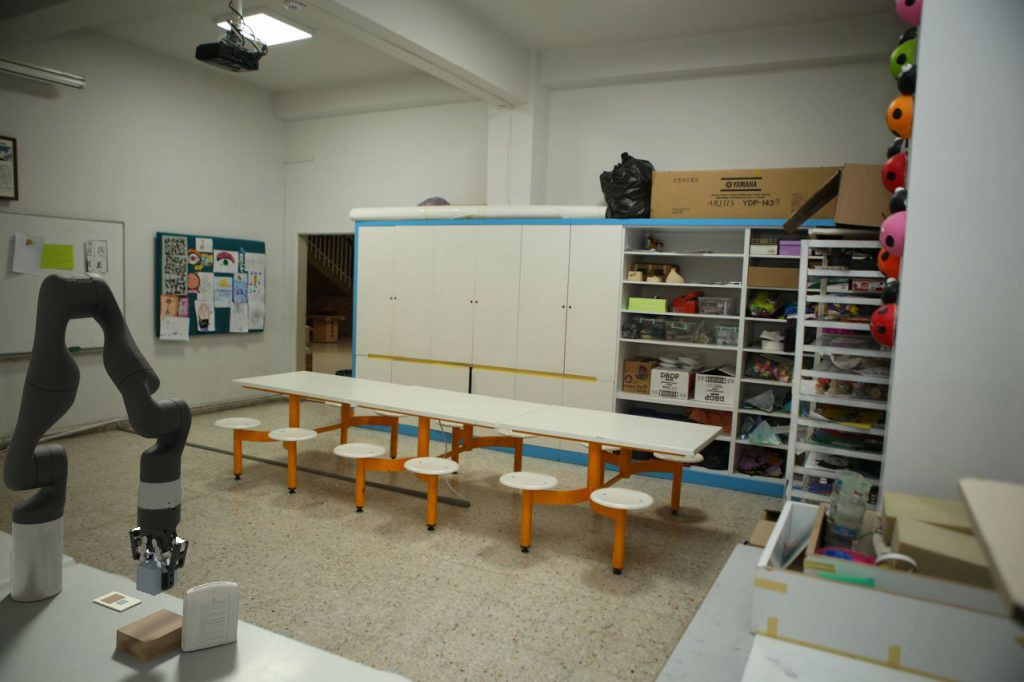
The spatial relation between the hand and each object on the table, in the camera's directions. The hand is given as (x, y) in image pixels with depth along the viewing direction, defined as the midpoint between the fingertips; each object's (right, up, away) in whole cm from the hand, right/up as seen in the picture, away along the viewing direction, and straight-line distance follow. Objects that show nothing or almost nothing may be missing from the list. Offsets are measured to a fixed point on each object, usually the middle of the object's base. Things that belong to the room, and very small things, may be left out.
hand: (157, 585), depth 126 cm
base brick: (-1, -12, +1) cm, 12 cm away
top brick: (0, 0, 0) cm, 0 cm away
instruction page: (-17, -9, +16) cm, 25 cm away
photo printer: (+9, -13, +2) cm, 16 cm away
